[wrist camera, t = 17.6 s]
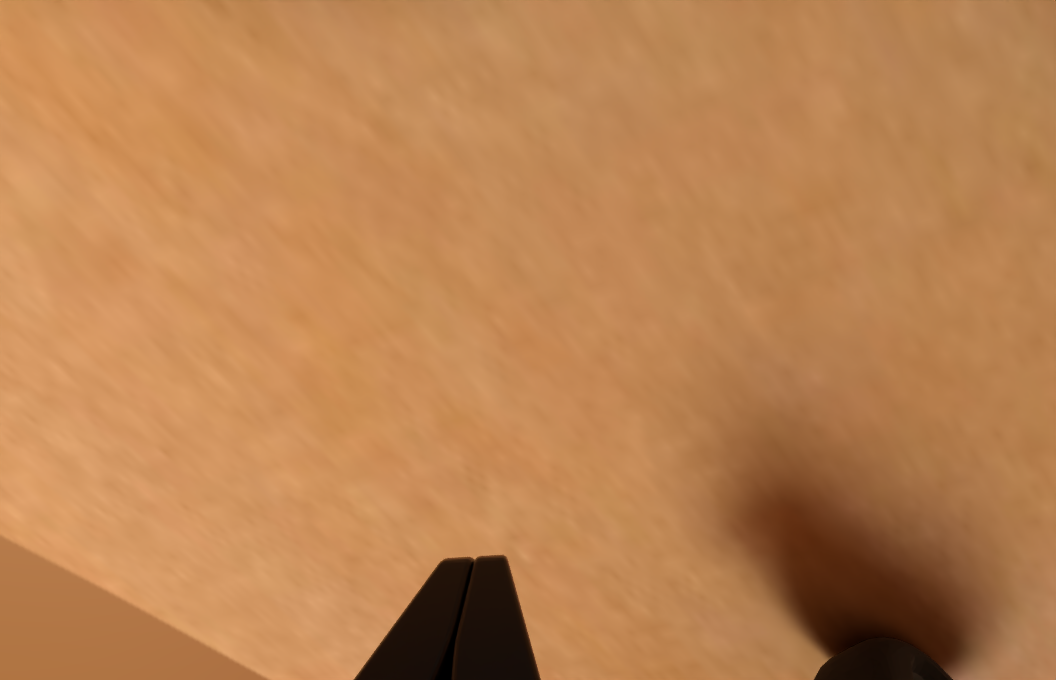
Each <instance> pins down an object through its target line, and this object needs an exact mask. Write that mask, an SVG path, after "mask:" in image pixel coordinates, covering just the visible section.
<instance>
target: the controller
mask: <svg viewBox="0 0 1056 680" xmlns="http://www.w3.org/2000/svg"><path fill="white" fill-rule="evenodd" d="M814 680H953V679H952V678H951V677H950V676H949V675H948V674H947V673H946V672H945V671H944V670H943V669H942V668H941V667H940V666H939V665H938V664H937V663H936V662H935V661H934V660H932V659H931V658H930V657H929V656H928V655H926V654H925V653H923V652H922V651H920V650H919V649H917V648H916V647H914V646H913V645H910V644H908V643H906V642H903V641H900V640H897V639H894V638H884V637H880V638H873V639H868V640H865V641H863V642H860V643H858V644H857V645H855V646H853V647H851V648H849V649H847V650H845V651H843V652H841V653H839V654H837V655H836V656H834V657H832V658H831V659H829V660H828V661H827V662H826V663H825V664H824V665H823V666H822V667H821V668H820V670H819V671H818V673H817V675H816V677H815V679H814Z"/></svg>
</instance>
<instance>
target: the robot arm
mask: <svg viewBox="0 0 1056 680" xmlns="http://www.w3.org/2000/svg"><path fill="white" fill-rule="evenodd" d="M354 680H541V679H540V675H539V672H538V668H537V664H536V661H535V657H534V653H533V650H532V646H531V643H530V639H529V635H528V632H527V628H526V624H525V621H524V617H523V614H522V610H521V606H520V603H519V599H518V595H517V592H516V588H515V584H514V581H513V577H512V574H511V570H510V566H509V563H508V560H507V557H506V556H504V555H492V556H480V557H477V558H476V559H475V560H474V559H473V558H471V557H459V558H447V559H444V560H442V561H441V562H440V563H439V564H438V566H437V567H436V568H435V570H434V571H433V572H432V574H431V575H430V577H429V578H428V579H427V581H426V582H425V583H424V585H423V586H422V587H421V589H420V590H419V591H418V593H417V594H416V596H415V597H414V598H413V600H412V601H411V602H410V604H409V605H408V606H407V608H406V609H405V611H404V612H403V613H402V615H401V616H400V617H399V619H398V620H397V621H396V623H395V624H394V626H393V627H392V628H391V630H390V631H389V632H388V634H387V635H386V636H385V638H384V639H383V641H382V642H381V643H380V645H379V646H378V647H377V649H376V650H375V651H374V653H373V654H372V656H371V657H370V658H369V660H368V661H367V662H366V664H365V665H364V666H363V668H362V669H361V671H360V672H359V673H358V675H357V676H356V677H355V679H354Z"/></svg>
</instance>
